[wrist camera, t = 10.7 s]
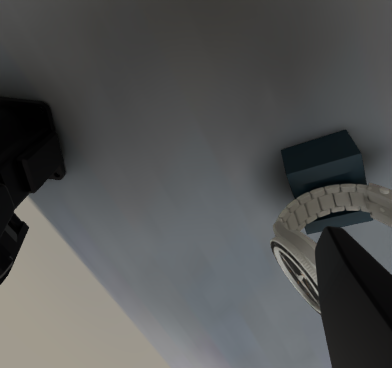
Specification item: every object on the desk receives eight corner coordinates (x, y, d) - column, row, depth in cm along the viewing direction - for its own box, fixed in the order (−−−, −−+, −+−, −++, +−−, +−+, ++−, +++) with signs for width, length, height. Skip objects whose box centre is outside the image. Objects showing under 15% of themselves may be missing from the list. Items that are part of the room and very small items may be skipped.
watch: (254, 158, 22) (263, 288, 13) (375, 120, 19) (490, 252, 10) (276, 213, 25) (296, 351, 16) (384, 186, 22) (481, 334, 13)
